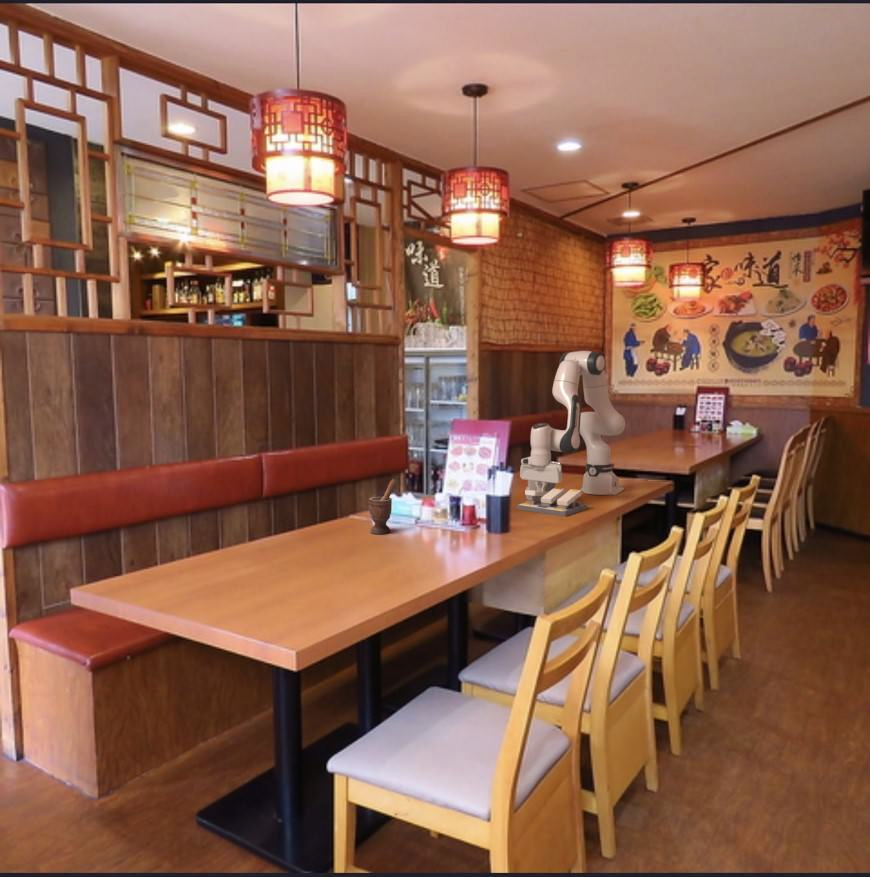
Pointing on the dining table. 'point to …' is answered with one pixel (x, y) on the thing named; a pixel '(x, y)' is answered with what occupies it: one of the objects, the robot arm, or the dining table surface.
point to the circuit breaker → (533, 487)
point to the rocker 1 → (535, 493)
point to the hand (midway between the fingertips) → (541, 491)
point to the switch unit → (551, 507)
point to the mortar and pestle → (382, 509)
